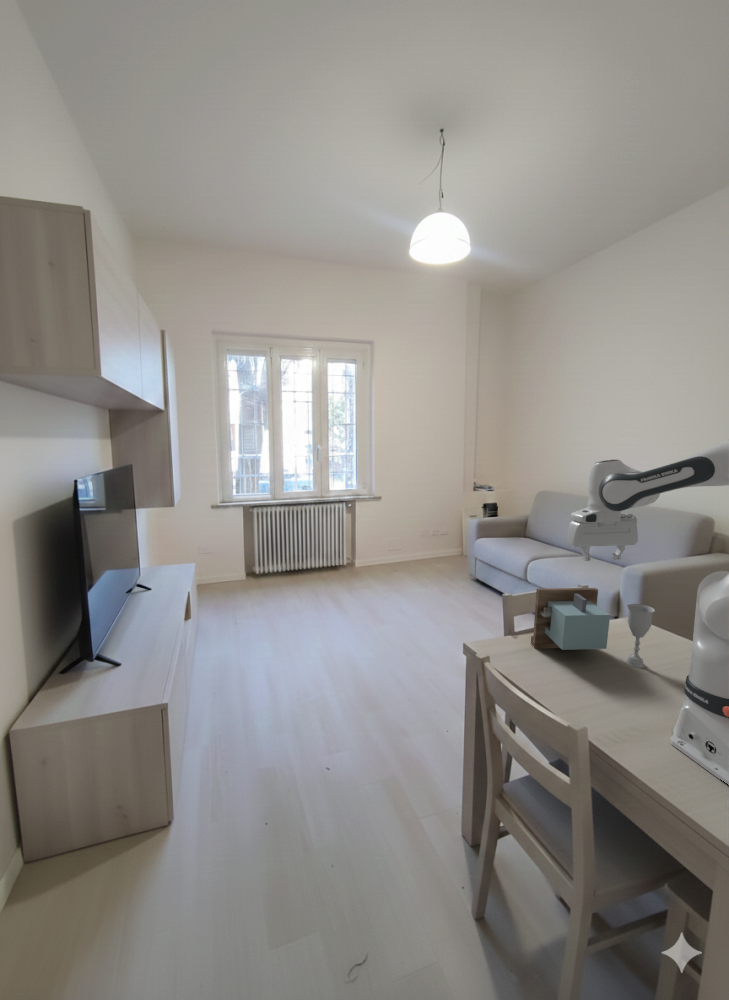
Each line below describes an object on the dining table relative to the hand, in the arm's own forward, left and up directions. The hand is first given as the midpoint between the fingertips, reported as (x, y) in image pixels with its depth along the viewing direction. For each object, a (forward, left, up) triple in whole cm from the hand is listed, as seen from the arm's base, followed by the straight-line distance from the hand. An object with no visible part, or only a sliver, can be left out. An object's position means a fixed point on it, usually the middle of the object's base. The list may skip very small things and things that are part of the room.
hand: (601, 560), depth 133 cm
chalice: (-1, -13, -33) cm, 35 cm away
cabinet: (+4, +4, -27) cm, 28 cm away
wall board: (+10, +4, -33) cm, 34 cm away
